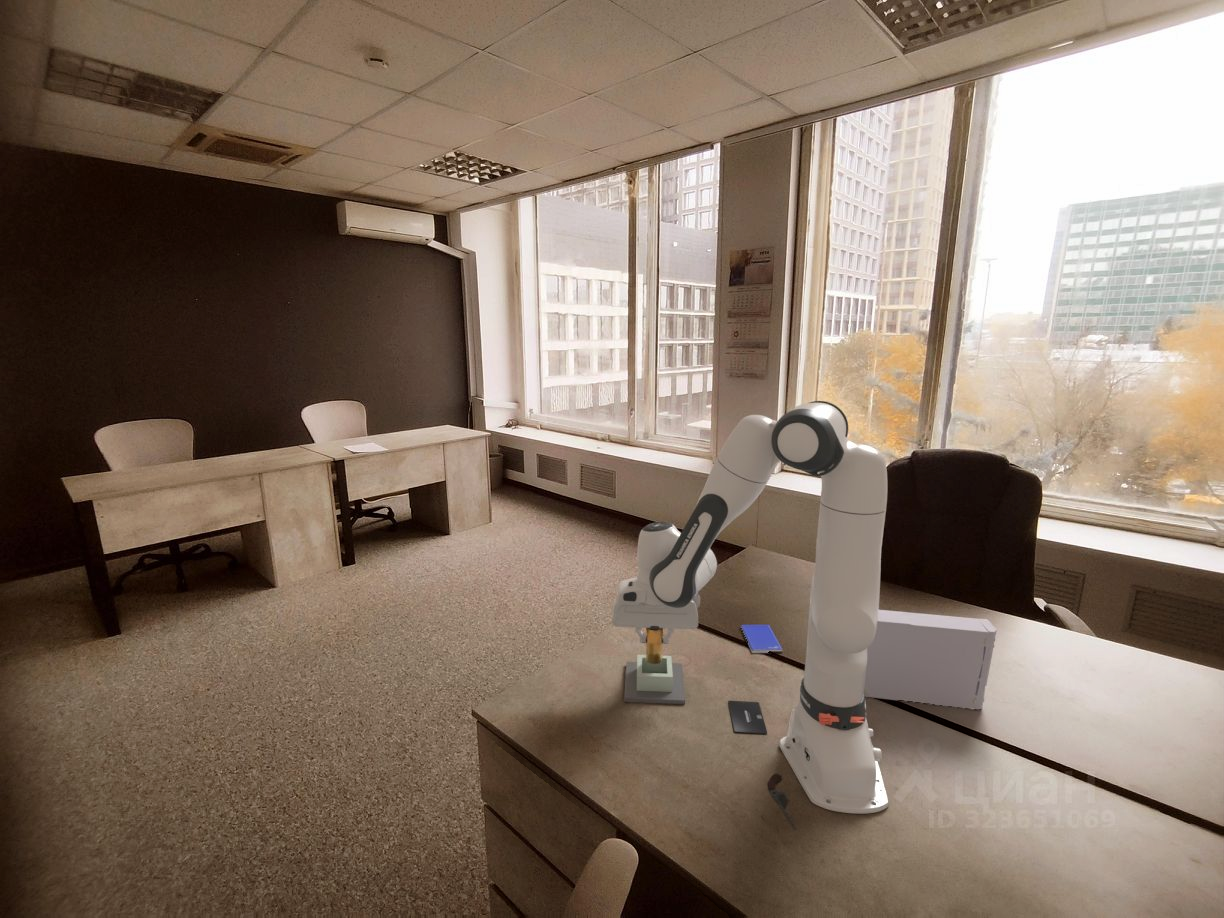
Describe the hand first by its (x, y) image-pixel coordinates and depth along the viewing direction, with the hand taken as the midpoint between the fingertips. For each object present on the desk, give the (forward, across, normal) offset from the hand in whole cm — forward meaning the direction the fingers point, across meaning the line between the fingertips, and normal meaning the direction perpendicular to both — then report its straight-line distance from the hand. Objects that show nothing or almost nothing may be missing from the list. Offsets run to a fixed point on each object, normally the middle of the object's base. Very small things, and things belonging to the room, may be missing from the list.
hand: (654, 642), depth 130 cm
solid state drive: (+12, -21, +11) cm, 26 cm away
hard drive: (+12, -30, -21) cm, 38 cm away
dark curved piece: (+12, -24, +33) cm, 43 cm away
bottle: (+5, 0, 0) cm, 5 cm away
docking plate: (+11, 0, 0) cm, 11 cm away
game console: (+11, -61, +1) cm, 62 cm away
